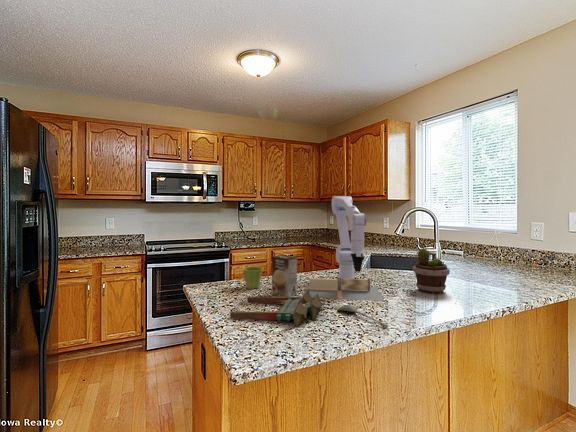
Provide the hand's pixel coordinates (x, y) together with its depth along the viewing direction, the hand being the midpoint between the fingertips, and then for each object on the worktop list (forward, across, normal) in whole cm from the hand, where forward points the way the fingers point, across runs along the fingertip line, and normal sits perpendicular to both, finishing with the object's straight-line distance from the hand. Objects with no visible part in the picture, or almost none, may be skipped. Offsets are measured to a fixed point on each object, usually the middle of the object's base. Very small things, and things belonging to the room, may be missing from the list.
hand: (357, 270), depth 143 cm
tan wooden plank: (+7, -5, +1) cm, 9 cm away
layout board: (+8, -8, +7) cm, 14 cm away
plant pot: (+9, -4, +47) cm, 48 cm away
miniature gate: (+9, -36, +29) cm, 47 cm away
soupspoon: (+9, -38, +2) cm, 39 cm away
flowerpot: (+9, +2, -32) cm, 33 cm away
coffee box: (+9, -14, +31) cm, 35 cm away
